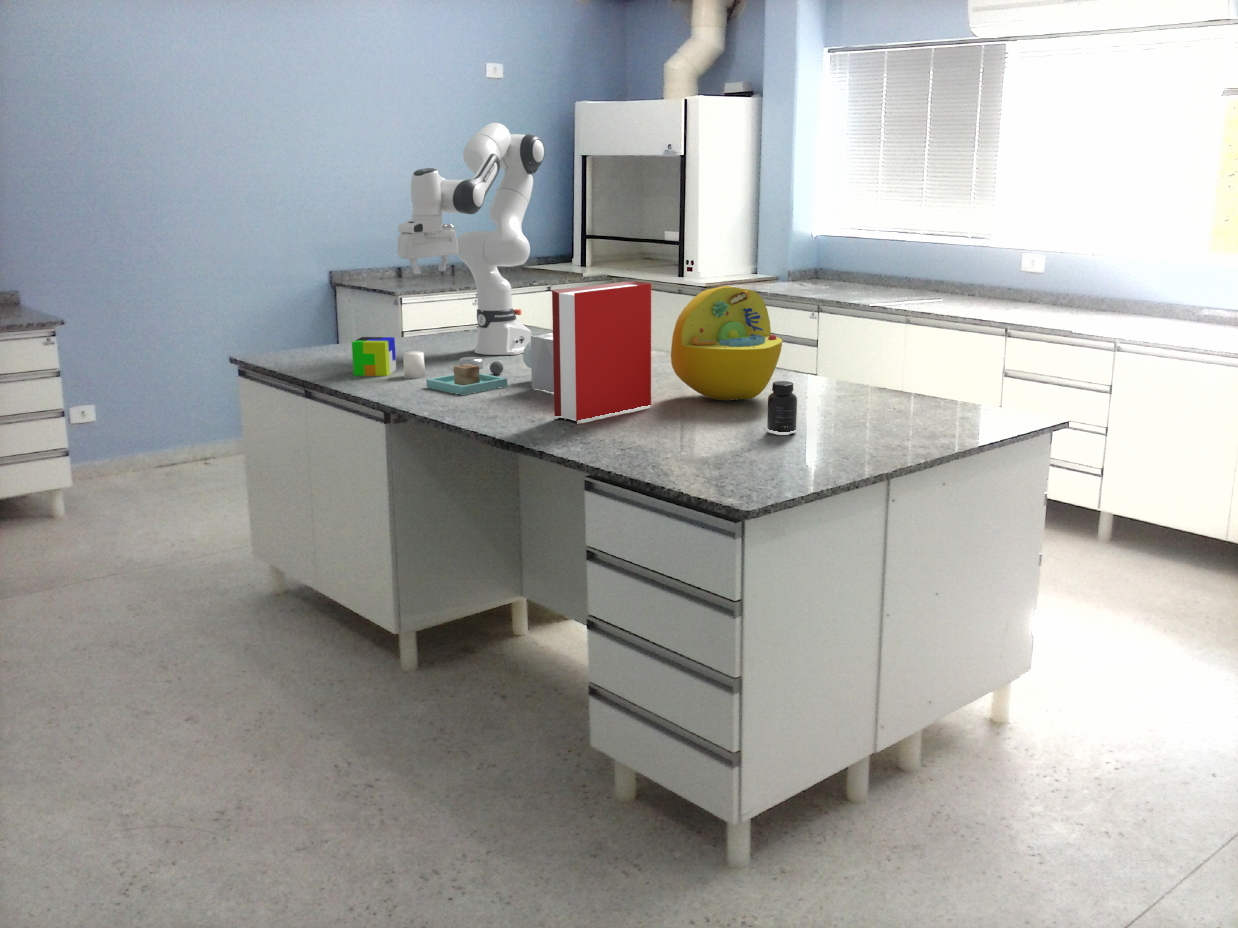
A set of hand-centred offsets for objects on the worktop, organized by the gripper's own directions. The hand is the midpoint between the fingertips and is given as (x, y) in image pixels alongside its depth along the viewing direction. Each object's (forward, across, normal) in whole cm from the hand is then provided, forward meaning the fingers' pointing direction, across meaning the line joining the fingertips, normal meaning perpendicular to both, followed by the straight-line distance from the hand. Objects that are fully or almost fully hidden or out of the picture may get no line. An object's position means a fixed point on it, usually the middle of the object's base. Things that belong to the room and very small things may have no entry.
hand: (429, 272), depth 350 cm
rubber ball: (+27, -6, +22) cm, 35 cm away
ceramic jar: (+29, +12, +6) cm, 32 cm away
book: (+30, +10, +82) cm, 88 cm away
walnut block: (+28, +12, +30) cm, 43 cm away
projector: (+30, -7, +53) cm, 61 cm away
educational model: (+29, -23, +95) cm, 102 cm away
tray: (+29, +12, +30) cm, 43 cm away
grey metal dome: (+29, -8, +8) cm, 31 cm away
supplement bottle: (+30, -3, +127) cm, 130 cm away
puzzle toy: (+29, +16, -8) cm, 34 cm away
